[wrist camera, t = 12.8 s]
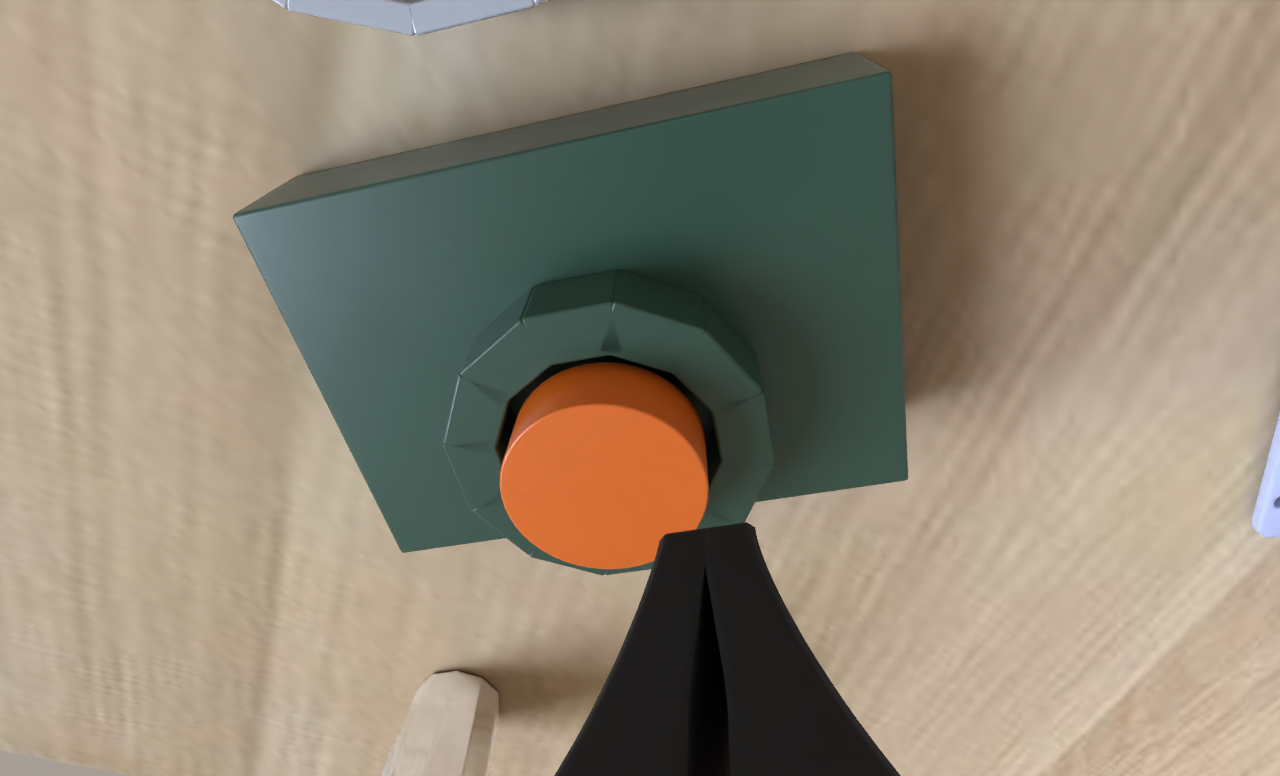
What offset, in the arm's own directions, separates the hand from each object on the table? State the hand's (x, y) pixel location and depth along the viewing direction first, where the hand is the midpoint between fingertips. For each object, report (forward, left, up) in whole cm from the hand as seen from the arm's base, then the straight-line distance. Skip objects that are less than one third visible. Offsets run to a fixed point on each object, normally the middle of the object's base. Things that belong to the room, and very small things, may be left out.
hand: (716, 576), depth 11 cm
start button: (-1, +2, -6) cm, 6 cm away
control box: (0, +2, -10) cm, 11 cm away
